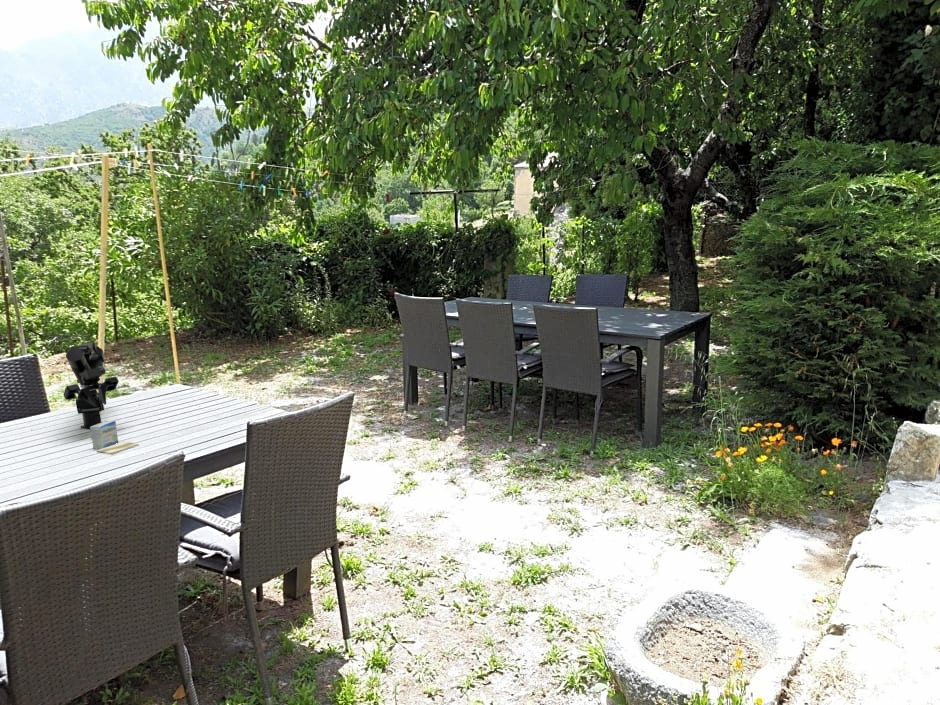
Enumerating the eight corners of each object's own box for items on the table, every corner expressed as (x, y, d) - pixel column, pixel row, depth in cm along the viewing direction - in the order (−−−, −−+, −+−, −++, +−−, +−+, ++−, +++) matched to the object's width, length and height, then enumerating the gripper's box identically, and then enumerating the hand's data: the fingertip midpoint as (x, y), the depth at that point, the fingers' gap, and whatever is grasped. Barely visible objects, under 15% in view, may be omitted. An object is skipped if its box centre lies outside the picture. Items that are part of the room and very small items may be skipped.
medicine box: (103, 449, 249) (100, 426, 248) (92, 449, 250) (89, 426, 249) (118, 443, 257) (115, 420, 255) (108, 442, 258) (105, 420, 256)
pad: (96, 452, 247) (96, 450, 247) (123, 442, 257) (123, 441, 257) (112, 454, 244) (111, 453, 243) (138, 445, 253) (138, 443, 253)
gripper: (62, 365, 255) (80, 397, 251) (113, 356, 270) (130, 387, 265) (56, 383, 262) (73, 415, 257) (106, 373, 276) (123, 404, 272)
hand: (101, 405), depth 263 cm, fingers open, 3 cm apart
